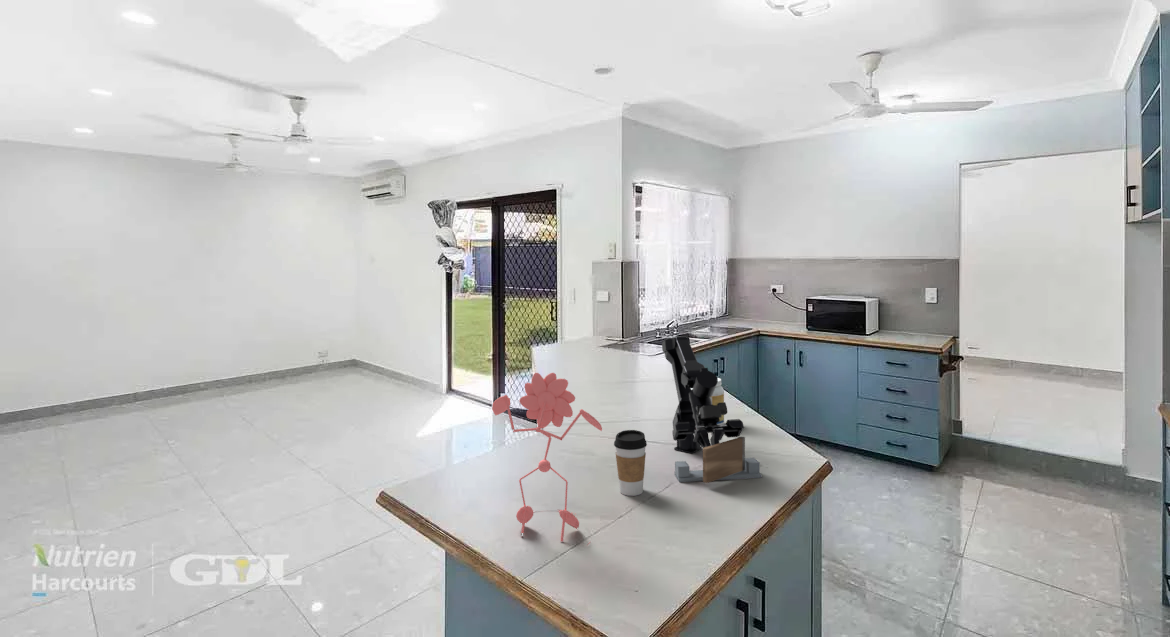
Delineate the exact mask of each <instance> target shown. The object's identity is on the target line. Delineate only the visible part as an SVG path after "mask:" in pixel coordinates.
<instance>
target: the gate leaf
mask: <svg viewBox="0 0 1170 637" xmlns="http://www.w3.org/2000/svg"><path fill="white" fill-rule="evenodd" d="M745 458H746V437H745V436H738V437H734V438H733V439H729V440H725V441H721V442H719V443H718V444H715V445H711V446H708V447H705V448H702V470H703V481H702V482H703V483H705V484H708V483H712V482H714V481H718V480H717V479H720V478H723V477H726V476H729V475H732V474H735V473H737V472H740V471H744V470H745Z"/></svg>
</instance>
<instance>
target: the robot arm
mask: <svg viewBox="0 0 1170 637" xmlns="http://www.w3.org/2000/svg"><path fill="white" fill-rule="evenodd" d="M661 350H662V353H664V357H665V359H666V360H667V361H668V362H669V364H671V367H672V372H673V378H674V384H675V388H676V389H675V390H676V394H677V399H678V404H677V407H676V410H675V413H674V415H673V419H672V439H673V440H674V441H676V446H675V447H674V448H673V449H674V450H675V451H680V452H684V453H689V454H693V453H696V452H697V451H699V450H701V449H703V448H705V447H708V446H711V445H715V444H718V443H720V441H722V440H723V437H724V436H725V437H727V438H739V437H741V434H742V433H743V430H744V428H745V425H744V422H743V421H742V420H741V419H740V418H737V419H727V420H726V422H725V423H724V425H717V422H719V421H720V420H719V417H722V416H721V415H724V416H726V415H727V414H728V406H727V403H726V401H724V402H721V403H718V404H717V405H712V402H711V399H710V397H711V396H712V395H713V392H714V390H715V388H716V385H717V382H718V378H719V377H718V376H717V375H716V374H715V373H714V372H712V371H710V370H709V368H708V367H705V365H704V364H702V363H700V362H698V360H697V357H696V355H695V353H694V351H693V347H692V346H691V339H690V337H689V336H688V335H681V336H679V335H675V336H673V337H672V338H671V337H670V338H665V339H664V340H663V341H662V343H661ZM691 388H693V389H692V390H691ZM709 434H711V437H709Z"/></svg>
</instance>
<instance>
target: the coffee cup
mask: <svg viewBox="0 0 1170 637" xmlns="http://www.w3.org/2000/svg"><path fill="white" fill-rule="evenodd" d="M613 446H614V447H615V461H616V467H617V468H616V469H617V476H618V477H617V478H618V485H619V486H618V487H619V493H620V494H622V495H624V496H627V497H633V496H634V497H635V496H639V495H641V494H643V492H644V478H645V468H646V467H645V466H646V454H647V453H646V447H647V446H648V443H647V440H646V436H645V433H644V432H642V431H640V430H637V429H636V430H635V429H625V430H622V431H619V432H617V434H616V435H615V440H614V442H613Z"/></svg>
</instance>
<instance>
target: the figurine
mask: <svg viewBox="0 0 1170 637" xmlns="http://www.w3.org/2000/svg"><path fill="white" fill-rule="evenodd" d="M568 386H569V381H568V380H567V379H565V378H557V374H556V373H555V372H549V373H547V375H546V376H545V377H543V376H542V375H541V374H540V373H539V372H534V374H532V378H531V383H530V382H526V383H525V384H524V391H525V393H526V395H524V396H521V397H520V398H519V404H520V405H521V406H522V407H523V408H525V409H527V410H526V414H525V415H526V418H527V419H529V420H536V424H537V427H532V428H531V427H529V428H519V429H518V428H517V429H515V426H514V421H513V418H512V413H511V409H510V406H511V397H509V396H508V394H505V395H502V396H499V397H498V398H496V399H495V400H494V401H493V403H492V407H491V410H492V412H493V414H494V416H498V415H501V414H503V413H505V412H507V414H508V418H509V422H510V426H511V430H512V431H513V433H517V432H530V431H531V432H532V431H535V432H536V433H541V434H542V435H544V436H545V437H546V438H548V440H547V445H546V449H545V455H544V458H543V459H542V460H540V461H539V462H538V465H537V467H536V468H535V469H533V470H531V471H530V472H528V473H526V474H525V475H524V476H522V477H520V478H519V480H518V481H519V486H520V488H519V489H520V491H521V498H522V502H523V506H521V507H520V508H519V509H518V510H517V511H516V520H517V522H519V523H520V524H521V523H522V524H521V525H522V526H521V532H520V534H521V533H524V534H525V527H526V524H527V523H529V521H530V520H532V518H533V516H534V512H533V511H534V509H533V507H532V506H530V505H526V500H525V496H524V490H523V486H522V480H523V479H525V478H527V477H528V476H530V475H532V474H533V473H534V472H536V471H540V472H541V473H547V472H549V471H550V470H551V471H553V473H555V474H556V475H557V476H558V477H559V478H560V479H562V480H563V481H564V482H565V494H564V495H565V496H564V498H565V499H564V509H559V510H558V513H559V517H560V518H561V520H562V523H561V524H562V525H561V533H560V542H563V541H564V536H565V535H564V534H565V526H566V525H565V524H567V525H569V526H570V527H572V528H574V529H576V530H578V529H577V528H579V527H580V521H579V519H578V518H577V517H576V515H575V514H573V512H571V511H569V510H567V508H568V507H567V505H568V487H569V486H568V483H569V482H568V480H567V479H565V478H564V477H563V476H562V475H561V474H560V473H558V471H557V470H555V469H554V468H553V467H552V466H551V462H550V461H549V460H547V457H548V453H549V449H550V445H551V441H552V437H553V438H554V439H557V440H559V441H563V440H564V438H565V436H566V435H567V434H568V433H569V431H570V430H571V429H572V428H573V426H574V425H575V423H576V422H577V421H578V419H579V418H580V417H583V418H584V420H585V421H586V422H587V423H589V424H590V425H591V426H593V427H594V428H596V429H597V430H599V431H600V432H602V430H603V427H602V424H601V423H600V422H599V420H597V419H596V418H595V417H594V416H593V415H592V414H590V413H589V412H587V411H586V410H584V409H582V408H581V409H579V413H578V414H577V415H576V416H575V417H574V419H573V420H572V422H570V424H569V426H568V427H567V429H566V430H565V431H564V432H563V434H562V435H561V436H558V435H557V434H553V433H552V432H549V431H546V430H545V428H546V427H548V426H549V425H550V423H552V425H553V426H554V427H556V428H560V427H562V426H563V422H564V417H565V418H571V417H572V416H573V414H574V413H573V408H572V407H571V405H570V404H571V403H573V402H575V401H576V396H575V394H573V393H572V391H569V390H567V388H568ZM570 512H571V513H570ZM525 523H526V524H525ZM589 544H590V542H588V543H587V544H586V546H588V545H589Z"/></svg>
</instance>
